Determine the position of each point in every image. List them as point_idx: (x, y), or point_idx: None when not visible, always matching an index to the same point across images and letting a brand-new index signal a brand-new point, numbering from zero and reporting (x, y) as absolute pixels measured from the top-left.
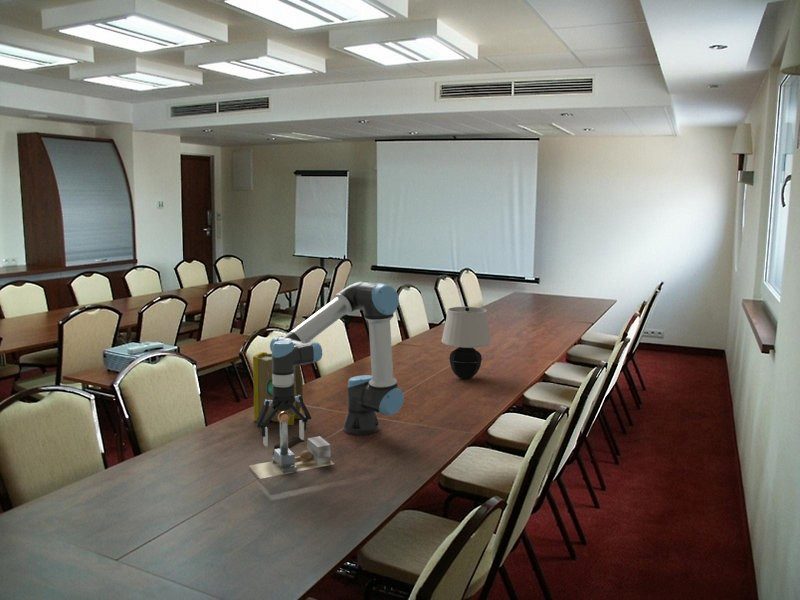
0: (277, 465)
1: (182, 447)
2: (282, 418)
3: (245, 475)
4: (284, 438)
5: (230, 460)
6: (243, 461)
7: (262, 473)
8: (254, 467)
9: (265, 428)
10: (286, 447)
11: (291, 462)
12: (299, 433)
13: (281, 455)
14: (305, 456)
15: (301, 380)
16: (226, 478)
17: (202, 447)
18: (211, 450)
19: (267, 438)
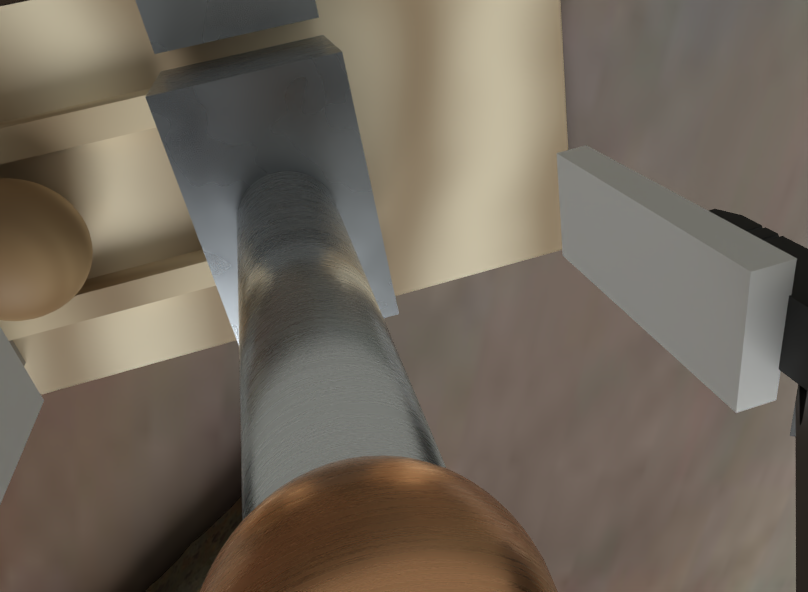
0: None
1: (792, 581)
2: (455, 517)
3: (609, 122)
4: (305, 249)
5: (629, 407)
6: (557, 382)
7: (505, 36)
8: (540, 198)
9: (788, 275)
10: (262, 204)
11: (199, 68)
12: (21, 444)
13: (334, 99)
14: (11, 197)
15: None
16: (749, 99)
17: (710, 580)
18: (682, 546)
19: (623, 189)
